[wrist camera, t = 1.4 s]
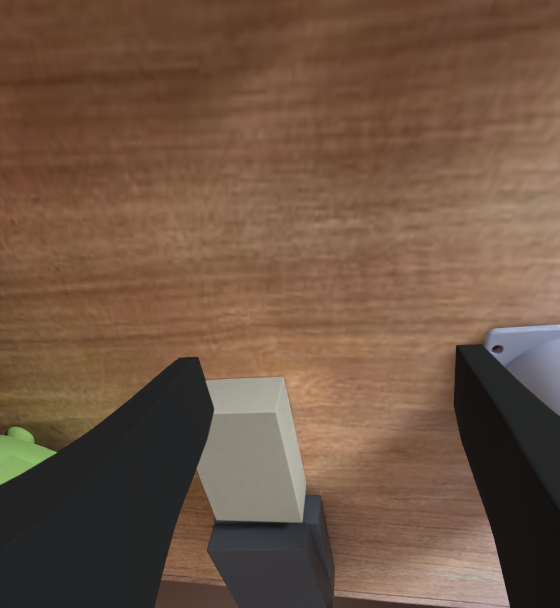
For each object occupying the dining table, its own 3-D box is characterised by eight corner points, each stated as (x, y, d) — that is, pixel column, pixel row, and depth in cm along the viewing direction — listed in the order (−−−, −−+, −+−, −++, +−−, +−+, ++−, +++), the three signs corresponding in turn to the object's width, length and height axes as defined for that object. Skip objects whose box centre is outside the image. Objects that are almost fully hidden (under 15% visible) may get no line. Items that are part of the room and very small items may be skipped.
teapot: (154, 509, 32) (85, 669, 24) (40, 525, 36) (-55, 670, 28) (62, 393, 28) (-66, 543, 19) (-60, 425, 31) (-213, 564, 23)
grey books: (335, 568, 33) (333, 625, 30) (246, 563, 34) (235, 617, 31) (320, 493, 29) (316, 550, 25) (219, 492, 30) (204, 545, 27)
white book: (306, 483, 28) (302, 523, 26) (227, 482, 30) (216, 520, 27) (283, 376, 24) (276, 412, 22) (191, 379, 25) (174, 414, 23)
